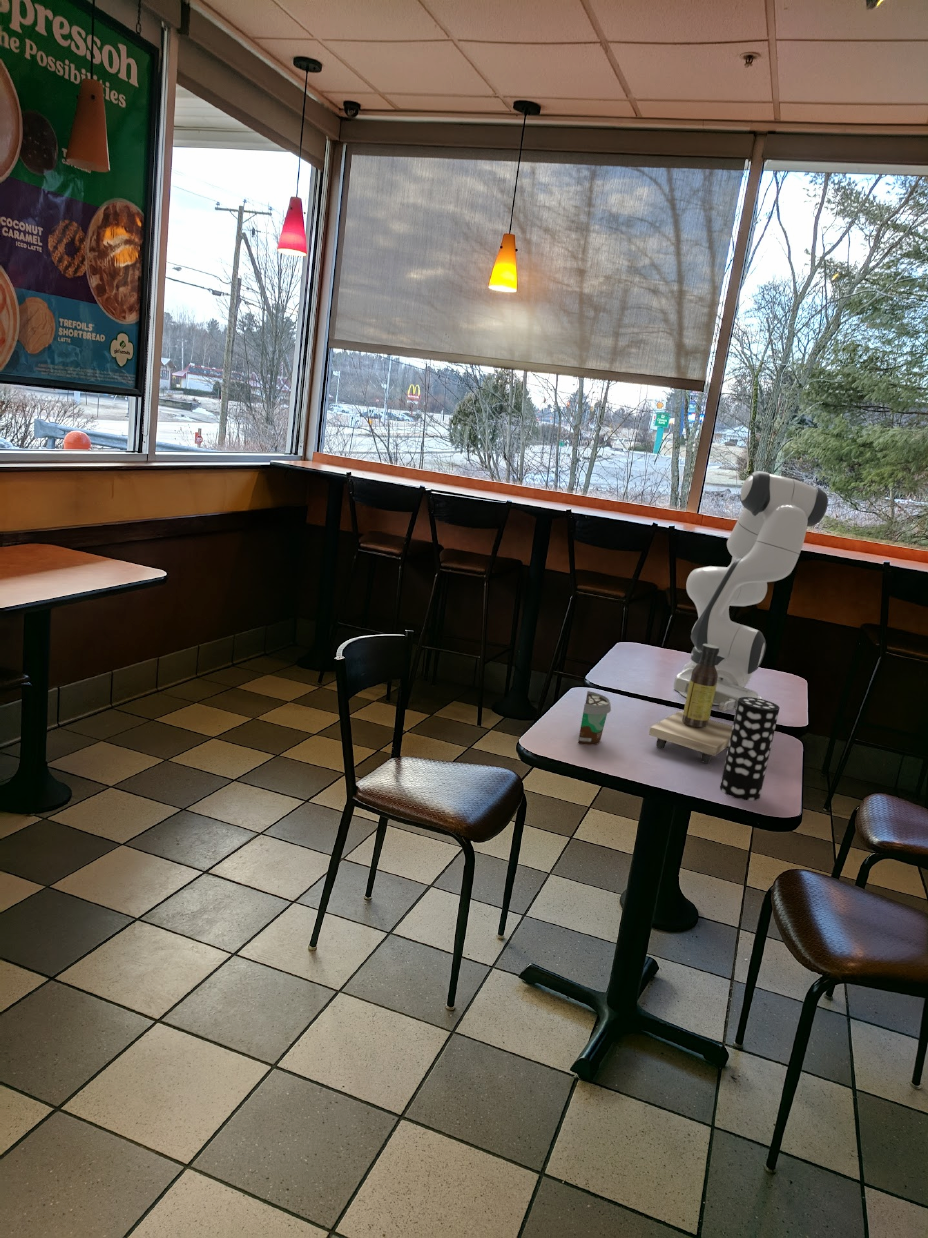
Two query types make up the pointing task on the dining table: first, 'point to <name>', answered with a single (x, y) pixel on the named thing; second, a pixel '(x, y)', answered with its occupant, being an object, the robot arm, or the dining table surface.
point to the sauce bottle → (701, 688)
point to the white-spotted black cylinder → (749, 748)
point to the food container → (593, 718)
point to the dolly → (692, 735)
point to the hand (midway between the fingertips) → (706, 702)
